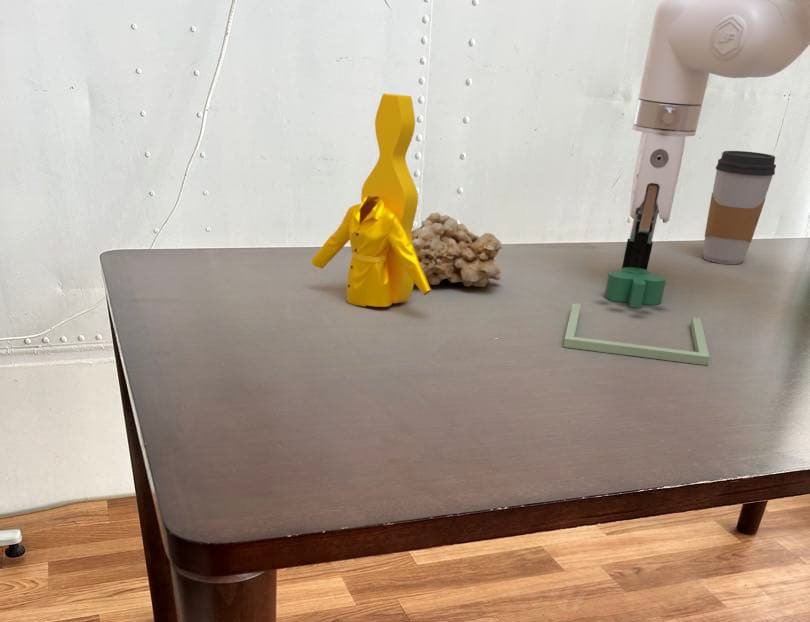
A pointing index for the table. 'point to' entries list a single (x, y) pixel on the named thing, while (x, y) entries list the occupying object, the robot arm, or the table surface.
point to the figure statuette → (383, 218)
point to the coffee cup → (736, 204)
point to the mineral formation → (455, 252)
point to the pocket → (639, 350)
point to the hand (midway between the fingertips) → (633, 271)
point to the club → (635, 287)
